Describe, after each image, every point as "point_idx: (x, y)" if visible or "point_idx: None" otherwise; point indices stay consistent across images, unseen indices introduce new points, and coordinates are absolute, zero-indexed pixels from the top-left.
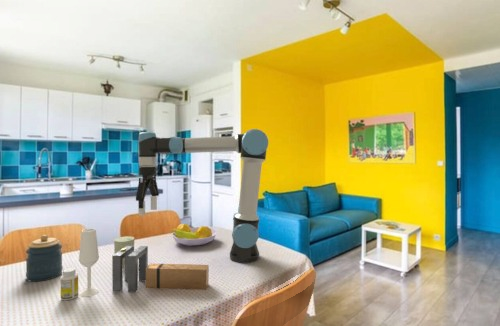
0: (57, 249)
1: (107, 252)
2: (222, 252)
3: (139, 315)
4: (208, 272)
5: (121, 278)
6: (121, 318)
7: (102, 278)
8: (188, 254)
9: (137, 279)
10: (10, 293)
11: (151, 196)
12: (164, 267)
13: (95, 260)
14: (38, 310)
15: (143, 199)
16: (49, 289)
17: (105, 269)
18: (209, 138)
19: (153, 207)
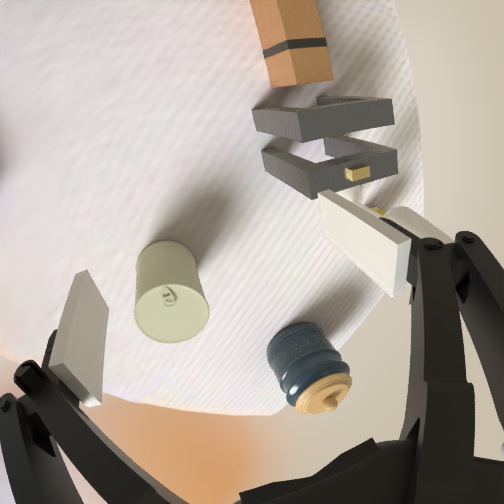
0: (322, 364)
1: (132, 359)
2: None
3: (393, 45)
4: None
5: (345, 138)
6: (405, 72)
7: (281, 231)
8: (18, 125)
9: (333, 97)
10: (360, 317)
11: (96, 396)
12: (313, 26)
13: (403, 206)
14: None
15: (435, 241)
16: (344, 281)
17: (230, 272)
18: None
19: (96, 301)
